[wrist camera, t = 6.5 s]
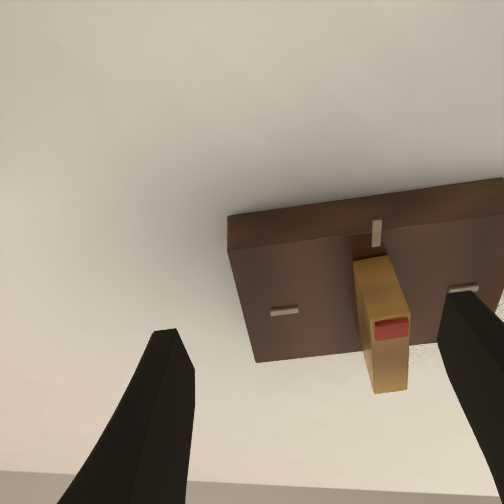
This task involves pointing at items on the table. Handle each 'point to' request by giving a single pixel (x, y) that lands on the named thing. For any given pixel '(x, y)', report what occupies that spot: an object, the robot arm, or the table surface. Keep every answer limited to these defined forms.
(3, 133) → the table surface
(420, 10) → the table surface
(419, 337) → the plate
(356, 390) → the table surface
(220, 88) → the table surface
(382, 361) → the thumb turn
